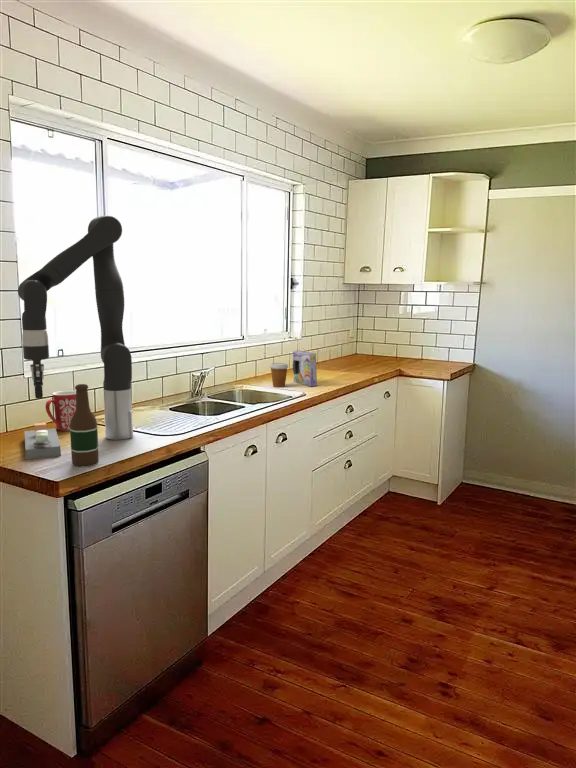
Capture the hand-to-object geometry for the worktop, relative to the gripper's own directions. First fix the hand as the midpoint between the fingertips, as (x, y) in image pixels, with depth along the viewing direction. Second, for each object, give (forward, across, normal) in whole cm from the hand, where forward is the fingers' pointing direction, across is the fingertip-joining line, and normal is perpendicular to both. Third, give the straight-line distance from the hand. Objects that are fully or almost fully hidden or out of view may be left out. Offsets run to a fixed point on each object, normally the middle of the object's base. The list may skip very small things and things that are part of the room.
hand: (39, 397), depth 190 cm
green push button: (+12, -9, 0) cm, 15 cm away
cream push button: (+12, -4, 0) cm, 13 cm away
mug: (+17, +25, -8) cm, 31 cm away
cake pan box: (+17, +81, -134) cm, 158 cm away
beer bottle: (+17, -22, -11) cm, 30 cm away
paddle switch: (+14, +6, 0) cm, 15 cm away
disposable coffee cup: (+17, +79, -119) cm, 144 cm away
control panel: (+17, +2, 0) cm, 17 cm away
